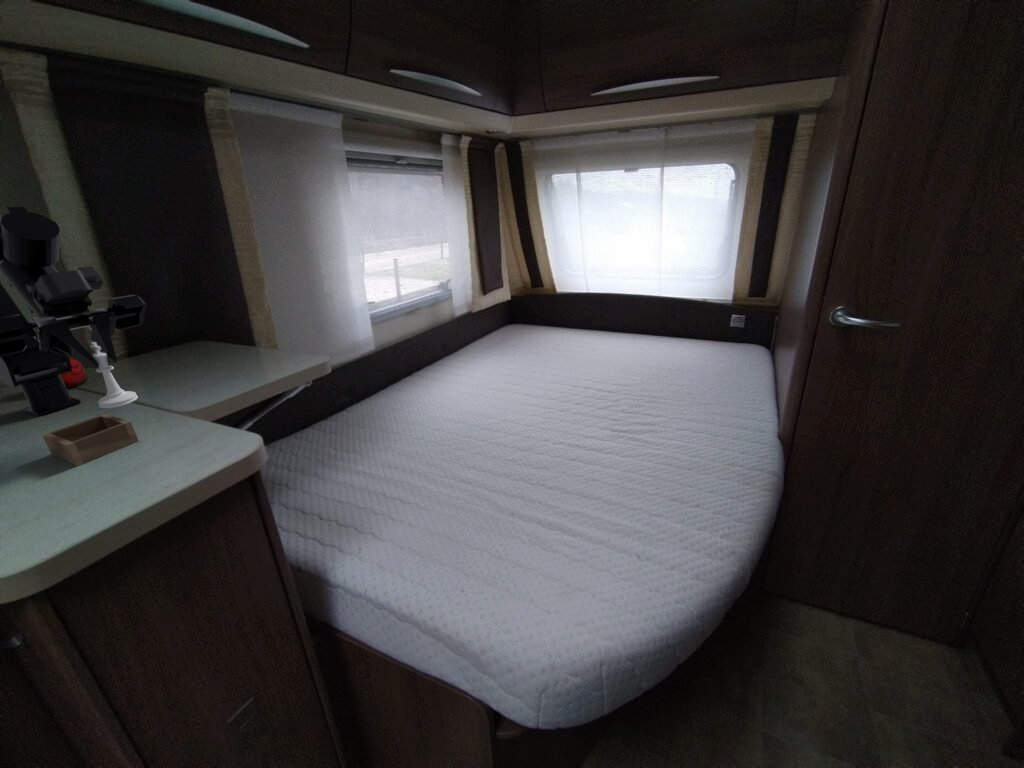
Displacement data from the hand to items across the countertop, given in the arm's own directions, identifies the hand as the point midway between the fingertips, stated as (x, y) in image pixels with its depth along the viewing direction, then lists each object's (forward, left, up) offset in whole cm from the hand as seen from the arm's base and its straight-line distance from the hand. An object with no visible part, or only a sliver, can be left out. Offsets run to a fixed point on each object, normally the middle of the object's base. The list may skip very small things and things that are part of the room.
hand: (106, 364), depth 69 cm
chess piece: (-1, 0, -7) cm, 7 cm away
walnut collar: (-2, -5, -13) cm, 14 cm away
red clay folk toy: (-43, +7, -13) cm, 45 cm away
